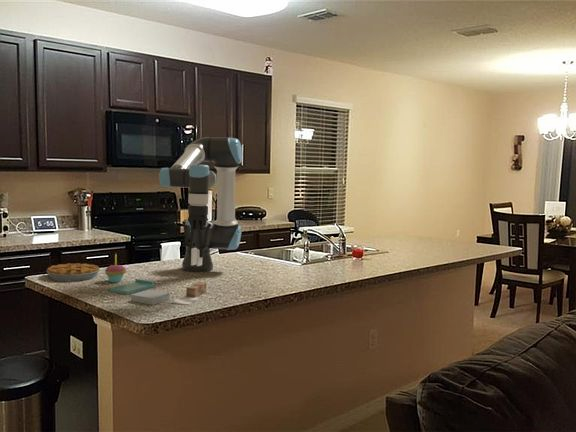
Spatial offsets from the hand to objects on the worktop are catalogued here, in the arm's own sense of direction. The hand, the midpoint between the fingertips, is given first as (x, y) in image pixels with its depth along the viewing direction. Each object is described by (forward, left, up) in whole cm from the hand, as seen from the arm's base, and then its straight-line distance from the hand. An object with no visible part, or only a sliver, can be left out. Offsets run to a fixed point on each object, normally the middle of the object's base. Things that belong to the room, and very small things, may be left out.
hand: (196, 265), depth 205 cm
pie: (0, -64, -13) cm, 65 cm away
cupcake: (-3, -43, -13) cm, 45 cm away
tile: (+9, -11, -11) cm, 18 cm away
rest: (+4, -28, -12) cm, 31 cm away
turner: (+2, 0, -13) cm, 13 cm away
